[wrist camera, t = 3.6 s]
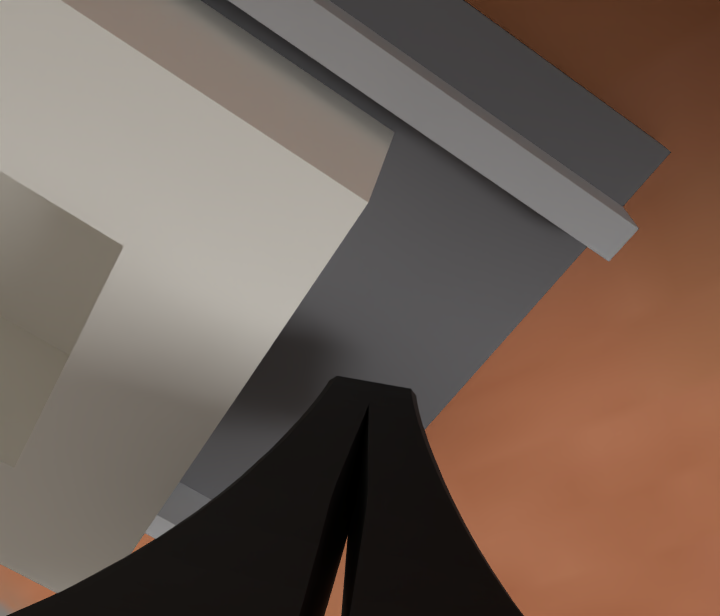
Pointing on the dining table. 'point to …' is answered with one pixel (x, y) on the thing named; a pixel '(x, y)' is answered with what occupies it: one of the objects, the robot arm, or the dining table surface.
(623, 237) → the base
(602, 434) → the dining table surface
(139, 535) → the sliding block
